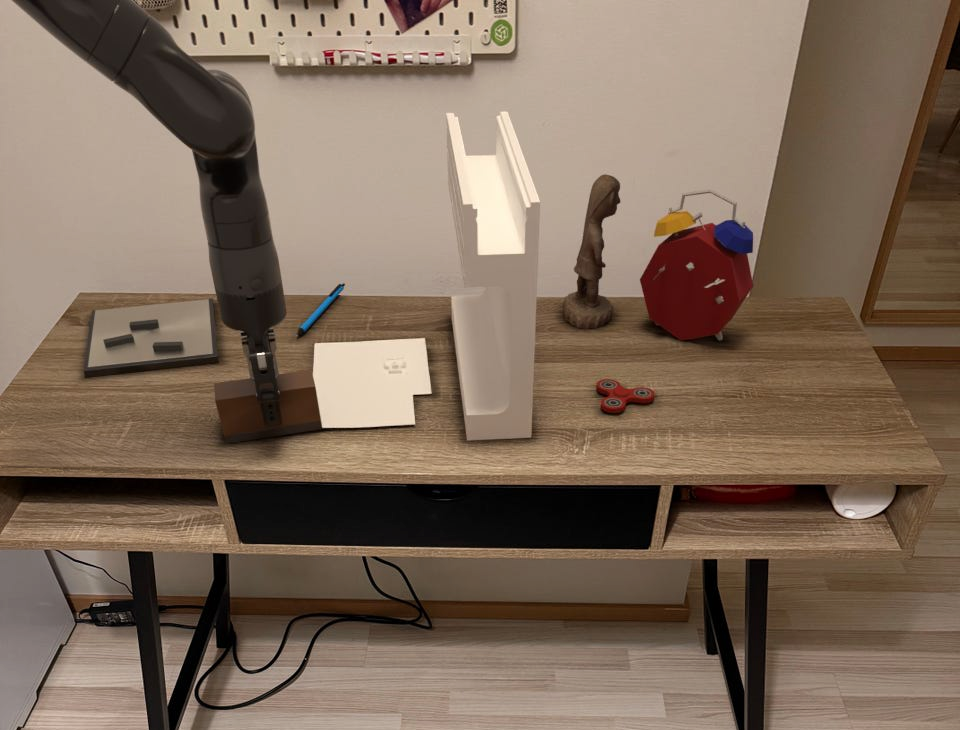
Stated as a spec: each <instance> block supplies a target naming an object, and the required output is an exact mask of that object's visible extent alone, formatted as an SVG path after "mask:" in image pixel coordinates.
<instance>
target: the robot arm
mask: <svg viewBox="0 0 960 730" xmlns="http://www.w3.org/2000/svg"><path fill="white" fill-rule="evenodd" d="M11 1H12V2H13V3H14V4H15V5H16V6H18V8H19V9H20V10H22V11H23V12H24V13H25V14H26V15H28V16H29V17H30V18H31V19H32V20H33V21H35V22H36V24H38V25H39V26H40V27H42V29H44V31H46V32H47V33H48V34H49V35H51V36H52V37H53V38H54V39H56V40H57V41H58V42H59V43H61V44H62V45H63V46H64V47H66V48H67V49H68V50H70V51H71V52H72V53H73V54H75V56H77V57H78V58H79V59H81V60H82V61H84V62H86V64H87V65H89V66H90V67H91V68H93V69H94V70H96V71H97V72H98V73H100V74H101V75H102V76H103V77H105V78H106V79H107V80H109V81H110V82H113V84H114V85H116V86H117V87H119V88H120V89H122V90H123V91H124V92H126V93H128V94H129V95H130V96H131V97H133V98H134V99H136V100H137V102H139V103H140V104H141V105H142V107H143V108H145V110H147V111H148V112H149V113H150V114H151V115H152V116H153V118H155V119H156V120H157V121H158V122H159V123H160V124H162V126H163V127H164V128H165V129H167V130H168V131H169V133H171V134H172V135H173V136H174V137H175V138H176V139H177V140H179V141H180V142H181V143H182V144H184V145H185V146H186V147H187V148H189V149H190V150H191V151H192V156H193V161H194V165H195V169H196V173H197V179H198V184H199V187H198V188H199V203H200V205H199V206H200V212H201V217H202V221H203V226H204V231H205V232H204V233H205V236H206V240H207V247H208V249H207V250H208V260H209V268H210V272H211V277H212V281H213V286H214V287H213V288H214V291H215V297H216V300H217V301H216V302H217V305H218V312H219V315H220V320H221V322H222V323H223V325H224V326H226V327H227V328H229V329H231V330H234V331H236V332H237V331H238V332H239V331H240V332H239V334H240V339H241V347H242V353H243V356H244V357H245V358H246V364H247V369H248V374H249V378H251V380H252V381H255V386H256V391H257V393H256V398H257V400H258V402H259V403H260V405H261V411H262V416H263V421H264V425H265V426H266V427H274V426H280V425H282V416H281V411H280V405H279V397H280V392H279V390H278V388H277V382H276V379H277V378H278V377H279V374H280V370H279V364H278V358H277V353H278V345H277V340H276V339H277V338H276V335H275V329H274V327H277V326H279V325H280V324H281V323H283V321H285V319H286V317H287V314H288V313H287V306H286V305H287V304H286V298H285V293H284V292H285V291H284V286H283V280H282V273H281V267H280V261H279V255H278V251H277V248H276V245H275V241H274V236H273V231H272V223H271V218H270V212H269V206H268V202H267V201H268V200H267V197H266V193H265V189H264V185H263V182H262V178H261V173H260V163H259V155H258V147H257V137H256V121H255V116H254V111H253V106H252V102H251V98H250V96H249V94H248V92H247V91H246V89H245V88H244V86H243V84H241V82H239V81H238V80H237V78H235V77H234V76H232V75H231V74H229V73H228V72H226V71H223V70H220V69H206V68H205V67H204V66H202V65H201V64H200V63H199V62H197V61H196V59H194V58H193V57H192V56H191V55H189V54H188V53H186V51H184V50H183V49H182V48H181V47H180V46H179V45H178V44H177V42H176V40H175V39H174V37H173V36H172V34H171V33H170V32H169V30H167V29H166V28H165V26H164V25H163V24H161V22H159V21H158V20H157V19H156V18H155V17H153V16H152V15H151V14H149V12H148V11H146V10H145V8H143V7H142V6H141V5H139V4H138V3H136V1H134V0H11ZM263 383H272V384H273V388H274V389H273V388H269V389H261V388H260V384H263Z"/></svg>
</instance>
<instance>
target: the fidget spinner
mask: <svg viewBox="0 0 960 730" xmlns="http://www.w3.org/2000/svg"><path fill="white" fill-rule="evenodd" d="M595 389H596V391H597V392H598V393H600V394H602V395H606V397H604V398H602V399H601V401H600V408H601V409H602V411H604V412H607V413H610V414H618V413H621V412H623V411H625V409H626V404H628V403H639V404H647V403H651V402H653V401H654V399H655V394H656V393H655V391H654V390H653V389H651V388H648V387H644V386H638V387H633V388H627V387H623V386H622V385H621V383H620V382H619V381H618V380H616V379H612V378H602V379H600V380H598V381H597V382H596V386H595Z"/></svg>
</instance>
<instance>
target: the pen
mask: <svg viewBox="0 0 960 730" xmlns="http://www.w3.org/2000/svg"><path fill="white" fill-rule="evenodd" d="M345 286H346V283H339V284H337V286H335V288H334V289H333V290H332V291H331V292H330V293H329V294H328V297H327V298H326V299H325V300H324V301H323V302H322V303H321V305H320V306H318V308H317V309H316V310H315V311H314V312H313V313H312V314H311V315H310V316H309V317H308V319H306V321H305V322H304V323H302V325H301V326H300V327H299V328H298V329H297V332H296V337H299V336H301V335H304V334H305V332H306V331H307V330H308V329H309V328H310V327H311V326H312V324H314V323H315V322H316V320H317V319H318V318H319V317H320V316H321V315H322V314H323V312H324V311H325V310H326V309H327V308H328V307H329V306H330V305H331V304H332V303H333V301H334V300H335V299H336V298H337V297H339V295H340V294H341V293H342V292H343V290H344V289H345Z"/></svg>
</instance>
